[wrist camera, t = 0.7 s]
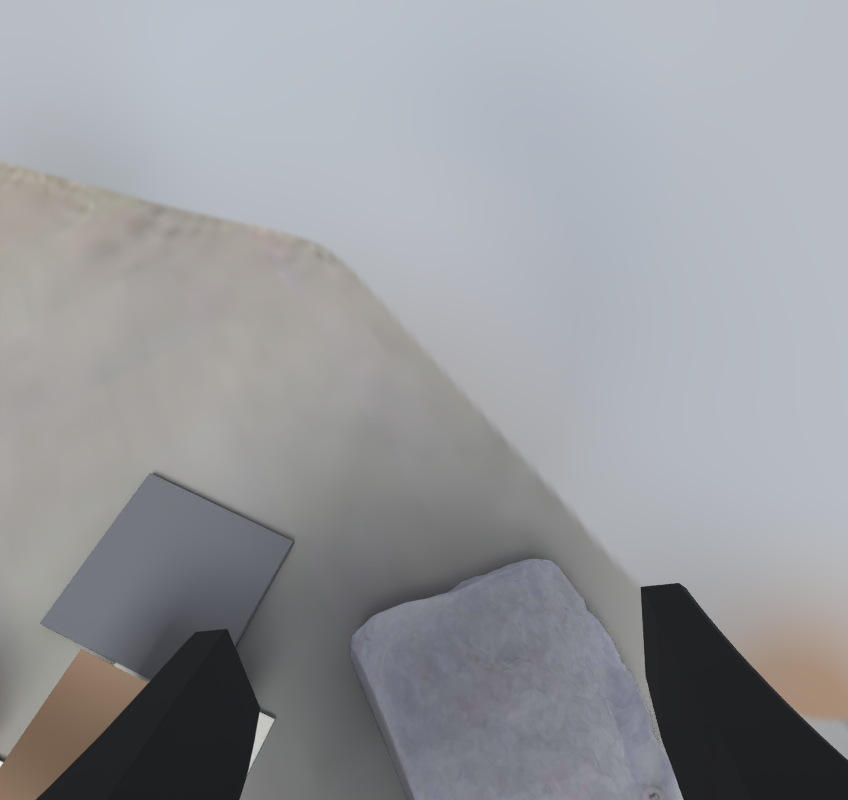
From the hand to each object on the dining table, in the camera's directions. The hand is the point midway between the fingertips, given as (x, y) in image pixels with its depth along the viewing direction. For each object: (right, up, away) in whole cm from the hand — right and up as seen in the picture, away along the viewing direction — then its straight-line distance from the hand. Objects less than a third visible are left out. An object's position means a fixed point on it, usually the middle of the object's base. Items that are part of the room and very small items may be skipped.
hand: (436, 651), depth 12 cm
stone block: (+3, -9, +15) cm, 18 cm away
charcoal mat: (-10, -3, +16) cm, 19 cm away
